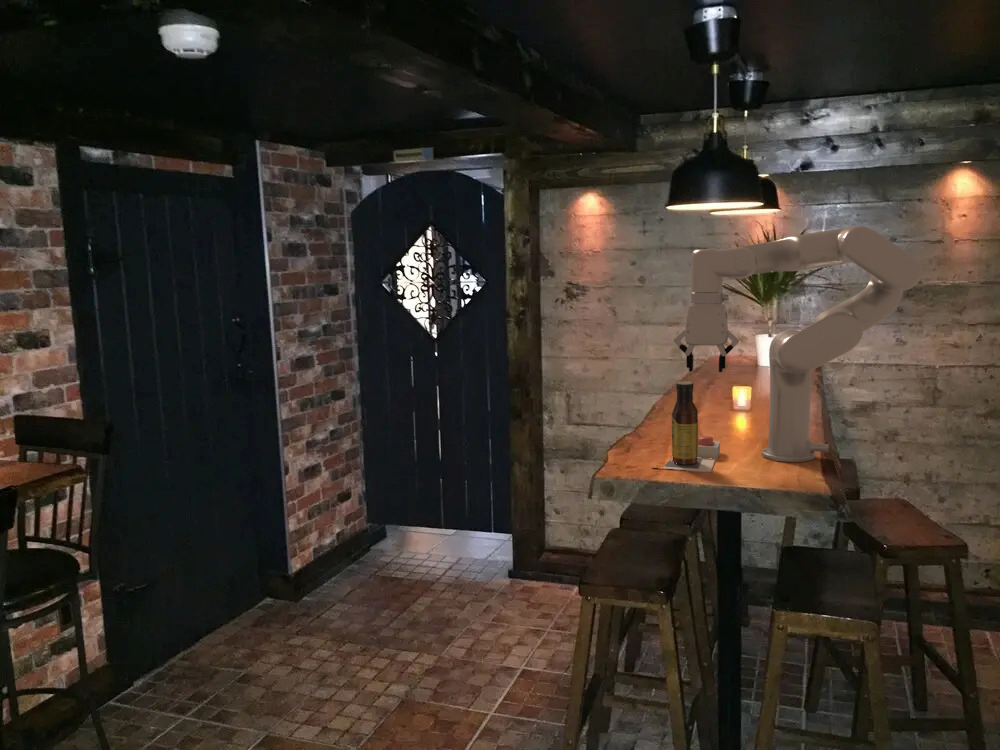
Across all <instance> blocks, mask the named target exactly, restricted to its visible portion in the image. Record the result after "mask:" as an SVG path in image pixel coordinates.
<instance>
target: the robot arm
mask: <svg viewBox="0 0 1000 750" xmlns="http://www.w3.org/2000/svg"><path fill="white" fill-rule="evenodd" d="M852 263H853V264H854V265H856V266H858V267H859V268H860V269H861V270H863V271H864V272H866V273H868V274H869V276H870V278H869V281H868V284H867V285H866V287H865V288H864V289H862V291H860V292H859V293H857V294H855V295H854V296H852V297H850V298H849V299H847V300H845V301H842V302H840V303H839V304H836V305H834V306H833V307H830V308H829V309H826V310H824V311H822V312H821V313H819V314H818V315H817V316H816V317H815V319H813V322H812V324H811V325H809V326H807V327H805V328H803V329H801V330H797V329H785V330H782V331H780V332H779V333H777V334H776V335H775V336H774V337H773V339H772V340H771V342H770V345H769V350H768V358H769V362H768V363H769V404H768V405H769V407H768V409H769V410H768V440H767V441H768V447H767V446H766V447H764V448H762V450H761V456H763V457H764V458H765V459H769V460H773V461H777V462H786V463H788V462H789V463H801V462H804V463H805V462H810V461H812V460H814V459H816V453H815V452H820V453H829V451H830V449H829V448H830V447H829V444H828V443H823V442H814V441H811V436H810V422H811V421H810V420H811V419H810V418H811V416H810V415H811V396H812V393H811V391H812V378H811V377H812V376H811V375H812V374H811V371H813V370H816V369H817V368H819V367H821V366H823V365H826V364H827V363H829V362H831V361H833V360H835V359H837V358H839V357H841V356H844V354H846V353H848V352H850V351H852V350H853V349H854V348H855V347H856V346H857V345H859V343H860V342H861V340H862V337H863V335H864V332H865V331H867V330H869V329H871V328H872V327H874V326H876V325H878V324H880V323H881V322H883V321H884V320H886V319H887V318H888V317H889V316H891V315H892V314H893V313H894V311H895V310H896V309H897V307H898V305H899V303H900V302H901V300H902V296H903V294H904V291H907V290H911V289H913V288H914V287H915V286H917V284H918V283H919V282H920V281H921V277H922V273H923V269H922V266H921V265H922V264H921V263H920V261H919V260H918V259H917V257H915V256H914V255H912V254H911V253H910V252H908V251H906V250H905V249H903V248H902V247H901V246H899V245H897V244H896V243H894V242H892V241H891V240H889V239H888V238H886V237H885V236H883V235H881V234H880V233H879V232H877V231H875V230H874V229H872V228H870V227H868V226H865V225H864V226H863V225H856V226H846V227H841V228H835V229H828V230H821V231H816V232H810V233H804V234H798V235H792V236H789V237H788V236H787V237H784V238H781V239H778V240H772V241H766V242H761V243H754V244H749V245H748V244H747V245H743V246H742V245H741V246H735V247H731V248H726V249H719V248H700V249H699V248H698V249H695V250H693V251H692V253H691V267H690V269H691V271H690V273H691V274H690V275H691V278H690V279H691V281H690V283H691V285H690V288H691V291H690V304H689V305H688V306H687V309H686V310H687V311H686V318H685V328H684V330H683V331H681V333H680V334H678V335H677V336H675V338H674V339H673V342H674V344H675V345H676V346H677V347H678V348H679V349H680V350H681V351H682V352H683V353H684V355H685V356H686V369H688V372H689V373H690V372H693V371H694V355H693V350H694V348H695V346H717V349H718V351H719V356H718V372H719V373H723V369H726V358H727V357H726V356H727V355H728V354H729V353H730V352H731V351H733V349H734V348H735V347H736V346H737V345H738V344H739V343H740V339H739V338H738V337H737V336H735V335H734V334H733V333H732V332H731V331H730V330H729V328H728V327H729V326H728V325H729V323H728V311H727V305H726V304H723V302H725V301H729V299H730V297H729V294H725V293H724V292H723V290H724V289H723V287H724V286H723V280H724V279H723V278H731V279H746V278H749V277H750V276H752V275H759V274H767V273H772V272H773V273H774V272H800V271H808V270H814V269H819V268H826V267H833V266H840V265H845V264H852ZM683 338H684V341H685V343H686V344H687V345H688V346H686V345H685V343H683V342H682V340H683ZM728 339H729V340H731V342H730V344H729V345H727V346H726V347H725V344H726V343H727V342H728Z"/></svg>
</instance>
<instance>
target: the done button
mask: <svg viewBox="0 0 1000 750" xmlns="http://www.w3.org/2000/svg"><path fill="white" fill-rule="evenodd" d="M713 441H714V437H712V436H709V435H698V445H703V446H713Z"/></svg>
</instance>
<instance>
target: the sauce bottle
mask: <svg viewBox="0 0 1000 750" xmlns="http://www.w3.org/2000/svg"><path fill="white" fill-rule="evenodd" d="M675 384H676V385H675V388H676V401H675V404H674V407H673V410H672V413H671V456H673V462H674V463H677V464H682V465H691V464H695V463H697V456H698V436H699V419H698V418H699V417H698V415H699V412H698V409H697V407H696V404H695V403H694V402H693V400H694V398H693V397H694V394H693V393H694V392H693V390H694V382H692V381H688V380H687V381H685V380H683V381H678V382H676V383H675Z"/></svg>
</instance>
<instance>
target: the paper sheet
mask: <svg viewBox="0 0 1000 750" xmlns="http://www.w3.org/2000/svg"><path fill="white" fill-rule="evenodd" d="M715 462H716V459H709V458H697V463H695V464H691V465H682V464H676V463H673V460H672V462H671V460H670V461H669V462H667V464H665V466H664V467H663V468H665V469H676V470H675V471H680V470H686V471H685V472H696V473H699V472H700V473H712V470H713V468H714V464H715ZM661 468H662V467H661ZM665 469H664V470H665ZM677 469H678V470H677Z"/></svg>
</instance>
